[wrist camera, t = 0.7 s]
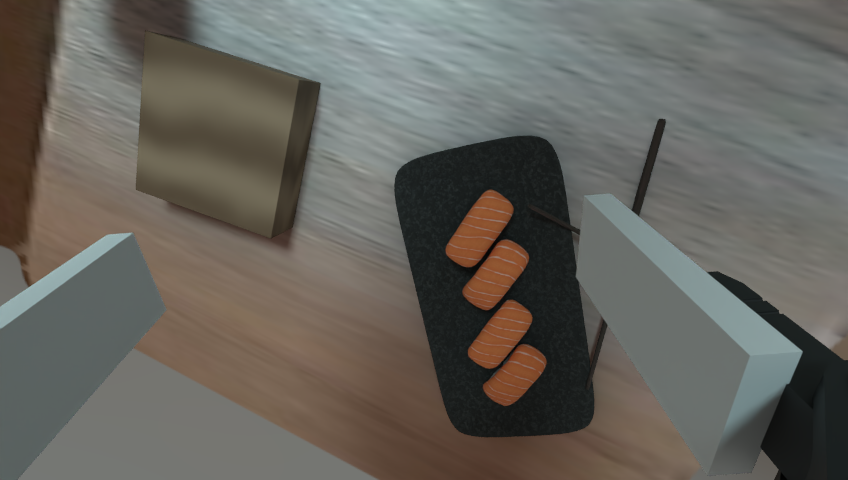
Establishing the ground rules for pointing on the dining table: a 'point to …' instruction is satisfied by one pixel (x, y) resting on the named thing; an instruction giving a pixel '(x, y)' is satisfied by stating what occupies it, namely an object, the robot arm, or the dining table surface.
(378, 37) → the dining table surface
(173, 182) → the walnut base
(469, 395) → the sushi plate
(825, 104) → the dining table surface
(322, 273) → the dining table surface
